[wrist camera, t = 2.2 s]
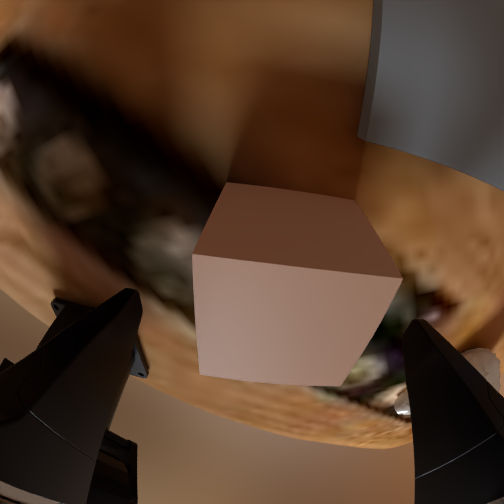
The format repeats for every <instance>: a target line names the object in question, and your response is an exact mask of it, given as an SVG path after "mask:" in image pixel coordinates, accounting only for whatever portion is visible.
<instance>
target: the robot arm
mask: <svg viewBox="0 0 504 504" xmlns="http://www.w3.org/2000/svg"><path fill="white" fill-rule="evenodd" d="M51 306H52V308H53V311H54V313H55V315H56V319H55V320H54V322H53V323H52V325H51V326H50V328H49V329H48V331H47V332H46V334H45V335H44V337H43V339H42V340H41V342H40V343H39V345H38V347H37V349H36V350H35V351H33V352H32V353H30V354H29V355H28V356H26V357H25V358H23V359H22V360H20V361H19V362H17V363H16V364H14V363H12V362H10V361H9V360H8V359H6V358H4V360H3V361H2V363H1V365H0V504H137V502H138V501H137V500H138V497H137V444H136V443H134V442H132V441H130V440H126V439H124V438H122V437H120V436H118V435H117V434H115V433H113V432H111V431H109V429H110V426H111V423H112V420H113V417H114V414H115V412H116V409H117V406H118V403H119V401H120V398H121V395H122V393H123V390H124V387H125V384H126V382H127V380H128V377H129V375H134V376H137V377H141V378H147V377H148V374H149V371H148V368H147V365H146V363H145V360H144V357H143V354H142V351H141V348H140V345H139V342H138V339H137V336H136V335H137V332H138V328H139V324H140V321H141V318H142V312H143V309H142V304H141V300H140V295H139V292H138V291H137V290H135V289H130V288H125V289H123V290H122V291H120V292H119V293H117V294H116V295H114V296H113V297H111V298H110V299H108V300H107V301H105V302H104V303H102V304H101V305H99V306H98V307H96V308H95V309H93V308H90V307H86V306H82V305H79V304H75V303H71V302H68V301H65V300H61V299H58V298H54V299H53V301H52V302H51ZM402 346H403V356H404V367H405V379H406V386H407V392H408V399H409V406H410V414H411V423H412V433H413V445H414V463H415V503H414V504H504V397H503V396H502V395H501V394H500V393H499V392H498V391H497V390H496V389H495V388H494V387H493V386H492V385H491V384H490V383H489V382H488V381H487V380H486V379H485V378H484V377H483V376H482V375H481V374H480V372H479V371H478V370H477V369H476V368H475V367H474V366H473V365H472V364H471V363H470V362H469V361H468V360H467V359H466V358H465V357H464V356H463V355H462V354H461V353H460V352H459V351H457V350H456V349H455V348H454V347H453V346H452V345H451V344H450V343H449V342H448V341H447V340H446V339H445V338H444V337H443V336H442V335H441V334H440V333H439V332H438V331H436V330H435V329H434V328H433V327H432V326H431V325H430V324H429V323H428V322H427V321H426V320H424V319H414V320H412V322H411V323H410V325H409V326H408V328H407V329H406V331H405V333H404V334H403V337H402Z"/></svg>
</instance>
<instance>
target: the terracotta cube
mask: <svg viewBox="0 0 504 504" xmlns="http://www.w3.org/2000/svg"><path fill="white" fill-rule="evenodd" d="M192 263H193V287H194V306H195V322H196V336H197V348H198V359H199V370H200V374H201V375H207V376H213V377H220V378H227V379H234V380H242V381H251V382H261V383H273V384H287V385H308V386H341V384H342V383H343V381H344V380H345V379H346V377H347V376H348V374H349V373H350V371H351V370H352V368H353V367H354V365H355V364H356V362H357V360H358V359H359V357H360V356H361V354H362V353H363V351H364V349H365V348H366V346H367V344H368V343H369V341H370V340H371V338H372V336H373V334H374V333H375V331H376V329H377V327H378V326H379V324H380V322H381V320H382V319H383V317H384V315H385V313H386V311H387V309H388V307H389V306H390V304H391V302H392V300H393V298H394V296H395V294H396V292H397V290H398V288H399V286H400V284H401V282H402V280H403V278H402V276H401V274H400V272H399V271H398V269H397V267H396V265H395V263H394V262H393V260H392V258H391V256H390V255H389V253H388V251H387V250H386V248H385V246H384V245H383V243H382V241H381V240H380V238H379V236H378V235H377V233H376V232H375V230H374V228H373V227H372V225H371V224H370V222H369V221H368V219H367V217H366V216H365V214H364V213H363V211H362V210H361V208H360V207H359V205H358V204H357V202H356V201H355V200H350V199H345V198H339V197H333V196H327V195H321V194H315V193H308V192H302V191H295V190H288V189H280V188H273V187H265V186H256V185H247V184H238V183H228V182H227V183H226V185H225V186H224V188H223V190H222V192H221V194H220V197H219V199H218V201H217V203H216V205H215V207H214V209H213V211H212V213H211V215H210V217H209V219H208V221H207V223H206V225H205V228H204V230H203V232H202V234H201V236H200V238H199V240H198V242H197V245H196V247H195V249H194V251H193V253H192Z"/></svg>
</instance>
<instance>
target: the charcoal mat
mask: <svg viewBox="0 0 504 504" xmlns="http://www.w3.org/2000/svg"><path fill="white" fill-rule="evenodd" d="M357 137H359V138H361V139H363V140H365V141H367V142H371V143H375V144H379V145H383V146H386V147H390V148H393V149H397V150H400V151H403V152H407V153H410V154H413V155H416V156H419V157H422V158H425V159H428V160H431V161H434V162H437V163H439V164H442V165H445V166H447V167H450V168H453V169H455V170H458V171H460V172H463V173H465V174H467V175H470V176H472V177H474V178H477V179H479V180H481V181H483V182H486V183H488V184H490V185H492V186H494V187H496V188H498V189H500V190H502V191H504V0H374V3H373V20H372V33H371V44H370V54H369V63H368V71H367V78H366V86H365V93H364V99H363V105H362V112H361V117H360V123H359V129H358V134H357Z"/></svg>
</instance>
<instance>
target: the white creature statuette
mask: <svg viewBox="0 0 504 504" xmlns="http://www.w3.org/2000/svg"><path fill="white" fill-rule="evenodd" d="M461 354H462V355H463V356H464V357H465V358H466V359H467V360H468V361H469V362H470V363H471V364H472V365H473V366H474V367H475V368H476V369H477V370H478V371H479V372H480V374H481V375H482V376H483V377H484V378H485V379H486V380H487V381H488V382H489V383H490V384H491V385H492V386H493V387H494V388H495V389H496V390H497V391H498V392H499V389H500V370H499V369H500V360H499V359H498V358H497V357H496V354H495V353H492V352H491V351H490V350H489V349H488V348H487V349H485V348H476V349H470V350H466V351H465V352H463V353H461ZM394 407H395V410H396V412H397V413H398V414H403V415H406V414H408V415H409V414H410V406H409V399H408V392H407V390H405V391H404V392H402V393H401V394H400V395H399V396H398V397H397V398H396V400H395V402H394Z"/></svg>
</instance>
